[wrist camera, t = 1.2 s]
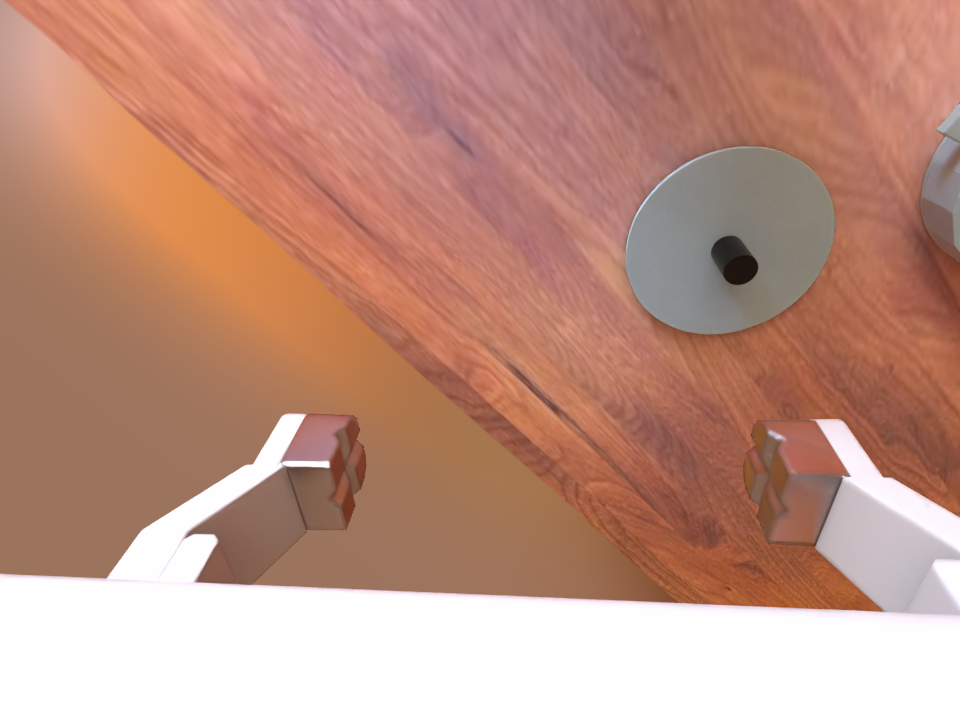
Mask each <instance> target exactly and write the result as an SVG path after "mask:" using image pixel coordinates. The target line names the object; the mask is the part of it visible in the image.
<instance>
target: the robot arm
mask: <svg viewBox="0 0 960 720" xmlns="http://www.w3.org/2000/svg"><path fill="white" fill-rule="evenodd" d="M359 431H360V428H359V424H358V421H357V418H356V417H355V416H353V415H330V414H329V415H328V414H285V415H284V416H282V417H281V419H280V420H279V422H278V424H277V425H276V427H275V429H274V430H273V432H272V433H271V435H270V437H269V439H268V440H267V442H266V444H265V445H264V447H263V449H262V450H261V452H260V454H259V455H258V457H257V459H256V460H255V462H254V464H253V465H245V466H244V467H242V468H240V469H239V470H237V471H236V472H234V473H232V474H231V475H229V476H228V477H226V478H225V479H223V480H221V481H220V482H218V483H216V484H215V485H213V486H212V487H210V488H208V489H207V490H205V491H204V492H202V493H200V494H199V495H197V496H196V497H194V498H192V499H191V500H189V501H188V502H186V503H185V504H183V505H181V506H180V507H178V508H177V509H175V510H173V511H172V512H170V513H169V514H167V515H166V516H164V517H162V518H161V519H159V520H157V521H156V522H154V523H153V524H151V525H149V526H148V527H146V528H145V529H143V530H142V531H141V532H140V533H139V535H138V536H137V538H136V539H135V540H134V542H133V543H132V544H131V546H130V547H129V549H128V550H127V551H126V553H125V554H124V555H123V557H122V558H121V560H120V561H119V562H118V564H117V565H116V567H115V568H114V569H113V571H112V572H111V573H110V575H109V576H108V577H107V579H105V578H81V577H57V576H34V575H33V576H32V575H11V574H0V720H960V517H958V516H956V515H955V514H953V513H951V512H950V511H948V510H946V509H944V508H943V507H941V506H939V505H937V504H936V503H934V502H932V501H931V500H929V499H927V498H925V497H924V496H922V495H920V494H919V493H917V492H915V491H913V490H912V489H910V488H908V487H907V486H905V485H903V484H901V483H900V482H898V481H896V480H894V479H893V478H883V477H882V475H881V474H880V472H879V471H878V469H877V468H876V467H875V465H874V464H873V462H872V461H871V459H870V458H869V457H868V455H867V454H866V452H865V451H864V450H863V448H862V447H861V445H860V444H859V442H858V441H857V440H856V438H855V437H854V435H853V434H852V432H851V431H850V430H849V428H848V427H847V425H846V424H845V423H844V422H843V421H841V420H840V419H811V420H757V421H756V423H755V424H754V426H753V429H752V433H751V437H752V439H753V441H754V444H755V446H753V447H752V448H751V449H750V450H748V451H747V452H746V456H745V460H744V465H743V475H744V483H745V488H746V491H747V493H748V496H749V499H751V500H752V501H753V502H755V503H756V504H757V505H759V506H760V507H759V510H758V513H757V518H758V521H759V523H760V526H761V528H762V530H763V533H764V535H765V538H766V540H767V542H768V544H782V545H800V546H815V549H816V550H817V551H818V552H819V553H820V554H821V555H823V556H824V557H825V558H826V559H827V560H828V561H829V562H830V563H831V564H832V565H833V566H835V567H836V568H837V569H838V570H839V571H840V572H841V573H842V574H843V575H844V576H846V577H847V578H848V579H849V580H850V581H851V582H852V583H853V584H854V585H855V586H857V587H858V588H859V589H860V590H861V591H862V592H863V593H864V594H865V595H866V596H868V597H869V598H870V599H871V600H872V601H873V602H874V603H875V604H876V605H877V606H879V607H880V608H881V609H882V610H883V611H884V612H876V611H853V610H829V609H804V608H780V607H756V606H734V605H711V604H688V603H666V602H643V601H620V600H596V599H573V598H549V597H525V596H502V595H501V596H500V595H478V594H455V593H453V594H452V593H429V592H408V591H384V590H360V589H338V588H314V587H291V586H267V585H252V584H253V583H254V582H255V581H256V580H257V579H258V578H259V577H260V576H262V575H263V574H264V573H265V572H266V570H268V569H269V568H270V567H271V566H272V565H273V564H274V563H275V562H276V561H277V560H278V559H279V558H280V557H281V556H282V555H284V554H285V552H287V551H288V550H289V549H290V548H291V547H292V546H293V545H294V544H295V543H296V542H297V541H298V540H299V539H300V538H301V537H302V536H303V535H304V534H305V533H306V532H307V531H306V530H347V527H348V524H349V522H350V519H351V516H352V513H353V511H354V508H355V502H354V498H353V495H354V494H356V493H357V492H358V491H359V490H361V487H362V485H363V481H364V478H365V470H366V455H365V450H364V446H363V445H362V444H361V443H360V442H359V441H358V440H356V439H357V437H358V434H359Z"/></svg>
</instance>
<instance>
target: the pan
mask: <svg viewBox="0 0 960 720" xmlns="http://www.w3.org/2000/svg"><path fill="white" fill-rule="evenodd" d="M936 131H937V132H939V133H941V134H943V135H945V137H944V139H943V140H942V142H941V143H940V145H939V146H938V148H937V149H936V151H935V153H934V155H933V157H932V159H931V161H930V163H929V165H928V168H927V171H926V173H925V176H924V180H923V184H922V188H921V198H920V206H921V215H922V219H923V223H924V226H925V228H926V230H927V232H928V234H929V235H930V237H931V238H932V239H933V241H934V242H935V243H936V244H937V245H938V246H939V247H940V249H941V250H942V251H944V252H945V253H947V254H948V255H950V256H951V257H953V258H954V259H956V260H957V261H959V262H960V103H959V104H958V105H957V106H956V107H955V108H954V110H953V111H952V112H951V113H950V114H949V115H948V117H947V118H946V119H945V120H944V121H943V122H942V124H941V125H940V126H939V127H938V128H937V130H936Z"/></svg>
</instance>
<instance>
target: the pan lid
mask: <svg viewBox="0 0 960 720" xmlns="http://www.w3.org/2000/svg"><path fill="white" fill-rule="evenodd" d="M834 233H835V214H834V207H833V203H832V200H831V197H830V194H829V192H828V190H827V188H826V186H825V184H824V183H823V181H822V180H821V179H820V177H819V176H818V175H817V174H816V173H815V172H814V171H813V170H812V169H811V168H810V167H809V166H808V165H806V164H805V163H804V162H802V161H800V160H799V159H797V158H796V157H794V156H792V155H790V154H787V153H785V152H783V151H780V150H776V149H772V148H768V147H759V146H737V147H731V148H724V149H720V150H717V151H713V152H710V153H707V154H705V155H702V156H700V157H697V158H695V159H693V160H691V161H689V162H688V163H686V164H684V165H682V166H680V167H679V168H678V169H676V170H675V171H673V172H672V173H671V174H669V175H668V176H667V177H666V178H665V179H663V180H662V181H661V182H660V183H659V184H658V185H657V186H656V187H655V188H654V189H653V190H652V192H651V193H650V194H649V195H648V196H647V198H646V199H645V201H644V202H643V203H642V205H641V206H640V208H639V210H638V212H637V213H636V215H635V217H634V219H633V222H632V224H631V227H630V230H629V233H628V237H627V242H626V250H625V265H626V271H627V276H628V280H629V282H630V285H631V288H632V290H633V292H634V294H635V296H636V298H637V299H638V301H639V302H640V303H641V305H642V306H643V307H644V308H645V309H646V310H647V311H648V312H649V313H650V314H651V315H652V316H654V317H655V318H657V319H658V320H659V321H661V322H663V323H665V324H667V325H668V326H670V327H673V328H676V329H679V330H682V331H686V332H690V333H697V334H724V333H731V332H736V331H741V330H744V329H747V328H750V327H754V326H756V325H758V324H761V323H763V322H765V321H767V320H769V319H771V318H773V317H775V316H776V315H778V314H780V313H781V312H782V311H784V310H785V309H787V308H788V307H790V306H791V305H792V304H793V303H794V302H796V301H797V300H798V299H799V298H800V297H801V296H802V295H803V294H804V293H805V292H806V291H807V290H808V289H809V288H810V286H811V285H812V284H813V282H814V281H815V280H816V279H817V277H818V275H819V274H820V272H821V270H822V269H823V267H824V265H825V263H826V261H827V258H828V256H829V254H830V250H831V247H832V244H833V239H834Z"/></svg>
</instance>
